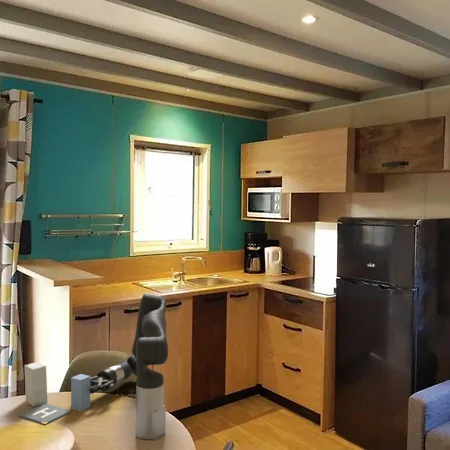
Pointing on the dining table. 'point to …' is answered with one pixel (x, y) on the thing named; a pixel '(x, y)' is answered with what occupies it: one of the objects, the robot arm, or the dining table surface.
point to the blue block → (80, 392)
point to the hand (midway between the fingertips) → (82, 389)
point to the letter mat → (44, 413)
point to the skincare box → (35, 384)
